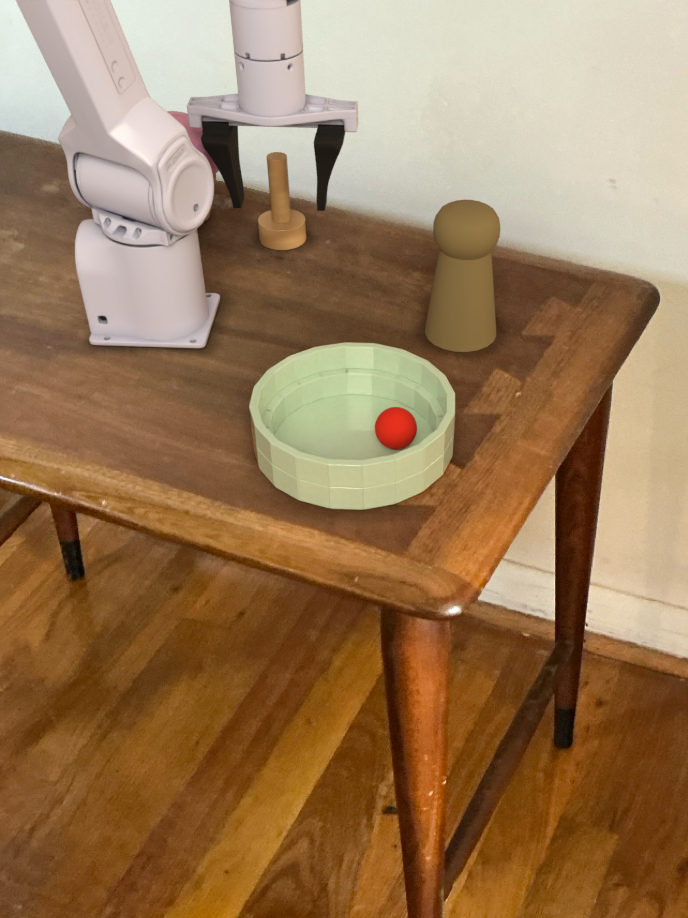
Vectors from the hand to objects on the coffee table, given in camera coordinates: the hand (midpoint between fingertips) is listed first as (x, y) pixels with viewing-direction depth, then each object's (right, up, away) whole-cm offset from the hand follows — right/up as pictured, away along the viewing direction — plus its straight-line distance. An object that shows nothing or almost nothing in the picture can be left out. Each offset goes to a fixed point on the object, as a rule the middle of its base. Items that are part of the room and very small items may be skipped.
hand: (280, 204), depth 94 cm
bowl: (+8, -24, -20) cm, 32 cm away
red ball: (+11, -23, -22) cm, 33 cm away
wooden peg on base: (0, -2, +2) cm, 3 cm away
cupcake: (-10, 0, +5) cm, 11 cm away
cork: (+16, -14, -9) cm, 23 cm away
